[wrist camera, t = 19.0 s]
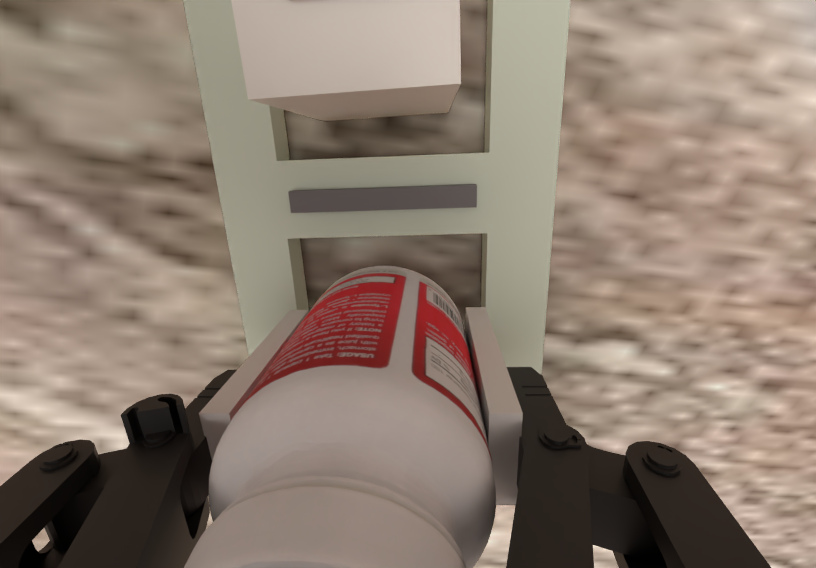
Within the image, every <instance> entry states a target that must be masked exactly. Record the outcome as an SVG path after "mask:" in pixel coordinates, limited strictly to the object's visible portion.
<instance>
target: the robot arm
mask: <svg viewBox="0 0 816 568" xmlns="http://www.w3.org/2000/svg"><path fill="white" fill-rule="evenodd" d="M308 313H309V310H290V311H289V312H288V313H287V314H286V315H285V316H284V317H283V319H282V320H281V321H280V322H279V323H278V324H277V325H276V326H275V328H274V329H273V330H272V331H271V332H270V333H269V334H268V335H267V337H266V338H265V339H264V340H263V341H262V342H261V343H260V345H259V346H258V347H257V348H256V349H255V350H254V351H253V352H252V354H251V355H250V356H249V357H248V358H247V359H246V360H245V362H244V363H243V364H242V365H241V366H240V367H239V368H238V369H237V370H227V371H226V372H224V373H222V374H221V375H219V376H217V377H216V378H214V379H213V380H212V381H211V382H210V383H209V384H208V385H207V386H206V387H205V390H203V391H202V392H201V393H200V394H199V395H198V396H197V398H195V399H194V400H193V401H192V402H191V403H190V404H189V405H188V406H187V407H186V409H185V408H184V404H183V400H182V398H181V397H180V396H178V395H174V394H161V395H157V396H153V397H149V398H146V399H144V400H141V401H139V402H137V403H135V404H134V405H132V406H130V407H129V408H127V409H126V410H125V411H124V412H123V413H122V414H121V417H122V420H123V423H124V427H125V430H126V433H127V436H128V439H129V442H130V444H129V446H128V448H127V449H123V450H118V451H113V452H108V453H104V454H99V455H98V453H97V450H96V448H95V445H94V443H92V442H91V441H90V440H76V441H69V442H65V443H63V444H59V445H56V446H54V447H52V448H51V449H49V450H47V451H45V452H43V453H41V454H40V455H38V456H37V457H35V458H34V459H33V460H31V461H30V462H29V463H28V464H26V465H25V466H24V467H23V468H22V469H20V470H19V471H18V472H17V473H16V474H14V475H13V476H12V477H11V478H10V479H8V480H7V481H6V482H5V483H4V484H3V485H1V486H0V568H184V566H185V564H186V563H187V561H188V559H189V557H190V555H191V553H192V551H193V549H194V547H195V546H196V544H197V542H198V540H199V539H200V537H201V535H202V534H203V533H204V531H205V529H206V525H207V521H208V517H209V513H210V505H209V502H208V498H207V496H208V495H209V475H210V469H211V465H212V461H213V458H214V454H215V451H216V448H217V446H218V444H219V441H220V439H221V437H222V435H223V433H224V432H225V430H226V428H227V427H228V425H229V424H230V422H231V420H232V418H233V417H234V415H235V414H236V413H237V411H238V410H239V408H240V407H241V406H242V404H243V403H244V401H245V400H246V398H247V397H248V396H249V394H250V393H251V392H252V390H253V389H254V388H255V386H256V385H257V384H258V382H259V381H260V379H261V378H262V376H263V375H264V374H265V373H266V371H267V370H268V368H269V367H270V365H271V364H272V363H273V361H274V360H275V359H276V357H277V356H278V354H279V353H280V351H281V350H282V349H283V347H284V346H285V345H286V343H287V342H288V341H289V339H290V338H291V336H292V335H293V334H294V332H295V331H296V329H297V328H298V327H299V325H300V324H301V322H302V321H303V320H304V318H305V317H306V316H307V314H308ZM465 333H466V338H467V343H468V348H469V352H470V358H471V363H472V367H473V372H474V378H475V383H476V388H477V393H478V398H479V403H480V407H481V412H482V417H483V423H484V427H485V431H486V437H487V442H488V446H489V450H490V454H491V458H492V464H493V473H494V480H495V488H496V505H516V507H515V513H514V520H513V527H512V533H511V540H510V547H509V553H508V560H507V566H506V568H594V562H593V545H596V546H599V547H602V548H606V549H609V550H612V551H613V553H614V556H615V558H616V561H617V564H618V566H619V568H771V567H770V565H769V564H768V563H767V561H766V560H765V559H764V557H763V556H762V555H761V553H760V552H759V551H758V549H757V548H756V546H755V545H754V544H753V542H752V541H751V540H750V538H749V537H748V536H747V534H746V533H745V532H744V530H743V529H742V528H741V526H740V525H739V523H738V522H737V521H736V519H735V518H734V517H733V515H732V514H731V513H730V511H729V510H728V509H727V507H726V506H725V504H724V503H723V502H722V500H721V499H720V498H719V496H718V495H717V494H716V492H715V491H714V490H713V488H712V487H711V486H710V484H709V483H708V481H707V480H706V479H705V477H704V476H703V475H702V473H701V472H700V471H699V469H698V468H697V467H696V465H695V464H694V463H693V462H692V461H691V460H690V459H689V458H688V457H687V456H686V455H684V454H682V453H681V452H679V451H677V450H676V449H674V448H672V447H669V446H666V445H664V444H661V443H656V442H650V441H643V442H636V443H634V444H632V445H630V446H629V447H628V449H627V451H626V455H620V454H616V453H611V452H607V451H603V450H600V449H596V448H593V447H591V446H589V445H587V444H586V442H585V439H584V437H583V436H582V435H581V434H580V433H579V432H578V431H577V430H575V429H573V428H571V427H570V426H568V425H566V423H565V421H564V419H563V417H562V415H561V413H560V411H559V409H558V407H557V405H556V403H555V401H554V399H553V397H552V396H551V393H550V391H549V389H548V388H547V385H546V383H545V381H544V379H543V377H542V375H541V374H539V373H538V372H537V371H536V370H534V369H533V368H532V367H506V364H505V361H504V359H503V356H502V353H501V350H500V347H499V344H498V342H497V339H496V336H495V333H494V330H493V327H492V325H491V322H490V319H489V316H488V313H487V310H486V307H466V326H465ZM43 528H45V530H46V532H47V534H48V537H49V539H50V541H49V542H48V544H47V545H46V546H45V547H44V548H42V549H41V550H40V551H39V552H38V551H37V550H36V549H35V547H34V545H33V542H32V540H33V539H34V538H35V536H36V535H37V534H38V533H39V532H40V531H41V530H42V529H43Z"/></svg>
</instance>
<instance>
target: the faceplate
mask: <svg viewBox="0 0 816 568" xmlns="http://www.w3.org/2000/svg"><path fill="white" fill-rule="evenodd" d="M570 1H571V0H487V44H486V91H485V138H484V152H482V153H457V154H433V155H408V156H383V157H358V158H333V159H308V160H290V156H289V148H288V140H287V132H286V124H285V117H284V110H283V109H279V108H276V107H272V106H269V105H265V104H262V103H259V102H255V101H252V100H248V96H247V90H246V85H245V79H244V73H243V67H242V61H241V55H240V49H239V43H238V38H237V32H236V26H235V20H234V14H233V8H232V2H231V0H183V4H184V9H185V14H186V20H187V25H188V31H189V36H190V41H191V47H192V52H193V57H194V63H195V68H196V74H197V79H198V84H199V90H200V95H201V101H202V106H203V111H204V117H205V122H206V127H207V133H208V138H209V144H210V149H211V154H212V160H213V165H214V171H215V176H216V181H217V187H218V192H219V197H220V203H221V208H222V214H223V219H224V224H225V230H226V235H227V241H228V246H229V251H230V257H231V262H232V268H233V273H234V278H235V284H236V289H237V294H238V300H239V305H240V311H241V316H242V321H243V327H244V332H245V338H246V343H247V348H248V354H249V356H250V355H251V354H252V352H253V351H254V350H255V349H256V348H257V347H258V346H259V345H260V343H261V342H262V341H263V340H264V339H265V338H266V337H267V335H268V334H269V333H270V332H271V331H272V330H273V329H274V328H275V326H276V325H277V324H278V323H279V322H280V321H281V320H282V319H283V317H284V316H285V315H286V314H287V313H288V312H289V311H290V310H309V306H308V298H307V290H306V282H305V274H304V267H303V259H302V251H301V243H300V238H332V237H368V236H405V235H441V234H478V233H482V281H481V307H486V310H487V313H488V316H489V319H490V322H491V325H492V327H493V330H494V333H495V336H496V339H497V342H498V344H499V347H500V350H501V353H502V356H503V359H504V361H505V364H506V367H532V368H533V369H534V370H536V371H537V372H538V373H539V374H541V375H542V362H543V349H544V336H545V324H546V311H547V298H548V285H549V272H550V259H551V246H552V233H553V220H554V208H555V195H556V182H557V169H558V156H559V143H560V130H561V117H562V104H563V91H564V79H565V66H566V53H567V40H568V27H569V14H570Z"/></svg>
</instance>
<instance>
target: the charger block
mask: <svg viewBox="0 0 816 568" xmlns="http://www.w3.org/2000/svg"><path fill="white" fill-rule="evenodd" d="M231 2H232V8H233V14H234V20H235V26H236V32H237V38H238V43H239V49H240V55H241V61H242V67H243V73H244V79H245V85H246V90H247V96H248V100H252V101H255V102H259V103H262V104H265V105H269V106H272V107H276V108H279V109H283V110H286V111H290V112H293V113H297V114H300V115H304V116H307V117H311V118H314V119H317V120H321V121H334V120H348V119H363V118H377V117H391V116H406V115H420V114H434V113H448V111H449V109H450V107H451V105H452V102H453V100H454V98H455V96H456V94H457V91H458V89H459V87H460V85H461V51H460V0H231Z"/></svg>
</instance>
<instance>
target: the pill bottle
mask: <svg viewBox="0 0 816 568" xmlns="http://www.w3.org/2000/svg"><path fill="white" fill-rule="evenodd" d="M209 505H210V511H211V516H212V520H213V523H212V524H211V525H210V526H209V527H208V528H207V529H206V530H205V531H204V533H203V534H202V535H201V537H200V539H199V540H198V542H197V544H196V546H195V547H194V549H193V551H192V553H191V555H190V557H189V559H188V561H187V563H186V564H185V566H184V568H473V567H474V566H475V564H476V563H477V561H478V560H479V558H480V556H481V555H482V553H483V551H484V549H485V547H486V545H487V542H488V539H489V537H490V534H491V530H492V526H493V522H494V517H495V509H496V488H495V480H494V473H493V464H492V458H491V454H490V450H489V446H488V442H487V437H486V431H485V427H484V423H483V417H482V412H481V407H480V403H479V398H478V393H477V388H476V383H475V378H474V372H473V367H472V363H471V358H470V352H469V348H468V343H467V338H466V333H465V329H464V325H463V322H462V319H461V316H460V313H459V311H458V309H457V307H456V305H455V304H454V302H453V301H452V299H451V298H450V297H449V295H448V294H447V293H446V292H445V291H444V290H443V289H442V288H441V287H440V286H439V285H438V284H436V283H435V282H434V281H432V280H431V279H429V278H428V277H426V276H424V275H422V274H419V273H417V272H415V271H412V270H409V269H406V268H402V267H396V266H372V267H366V268H362V269H359V270H356V271H353V272H351V273H349V274H347V275H345V276H343V277H342V278H340V279H338V280H337V281H336V282H334V283H333V284H332V285H331V286H330V287H329V288H328V289H327V290H326V291H325V292H324V293H323V294H322V295H321V297H320V298H319V299H318V300H317V302H316V303H315V304H314V306H313V307H312V309H311V310H310V311H309V313H308V314H307V316H306V317H305V318H304V320H303V321H302V322H301V324H300V325H299V327H298V328H297V329H296V331H295V332H294V334H293V335H292V336H291V338H290V339H289V341H288V342H287V343H286V345H285V346H284V347H283V349H282V350H281V351H280V353H279V354H278V356H277V357H276V359H275V360H274V361H273V363H272V364H271V365H270V367H269V368H268V370H267V371H266V373H265V374H264V375H263V376H262V378H261V379H260V381H259V382H258V384H257V385H256V386H255V388H254V389H253V390H252V392H251V393H250V394H249V396H248V397H247V398H246V400H245V401H244V403H243V404H242V406H241V407H240V408H239V410H238V411H237V413H236V414H235V415H234V417H233V418H232V420H231V422H230V424H229V425H228V427H227V428H226V430H225V432H224V433H223V435H222V437H221V439H220V441H219V444H218V446H217V448H216V451H215V454H214V458H213V461H212V465H211V469H210V475H209Z"/></svg>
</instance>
